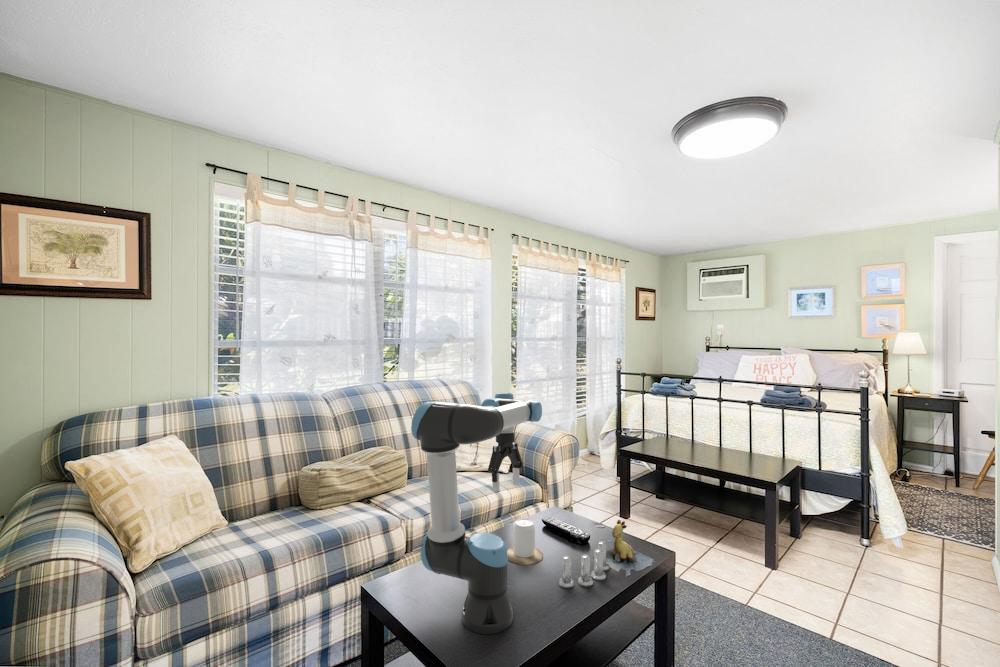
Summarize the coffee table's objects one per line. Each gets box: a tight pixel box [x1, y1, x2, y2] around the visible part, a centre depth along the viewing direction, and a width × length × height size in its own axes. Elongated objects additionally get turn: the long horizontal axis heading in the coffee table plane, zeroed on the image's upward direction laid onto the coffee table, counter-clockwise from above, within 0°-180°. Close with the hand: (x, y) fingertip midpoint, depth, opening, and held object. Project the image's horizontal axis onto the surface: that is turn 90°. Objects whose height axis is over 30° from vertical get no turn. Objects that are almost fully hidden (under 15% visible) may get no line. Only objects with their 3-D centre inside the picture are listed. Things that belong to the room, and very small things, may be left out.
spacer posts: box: [558, 540, 610, 589], centre depth 157 cm, size 23×12×9 cm, turn 142°
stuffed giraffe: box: [592, 519, 655, 577], centre depth 168 cm, size 16×18×16 cm
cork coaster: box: [507, 546, 543, 566], centre depth 171 cm, size 14×14×1 cm
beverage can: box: [513, 518, 536, 558], centre depth 172 cm, size 8×8×12 cm
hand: (506, 487), depth 174 cm, fingers open, 13 cm apart
